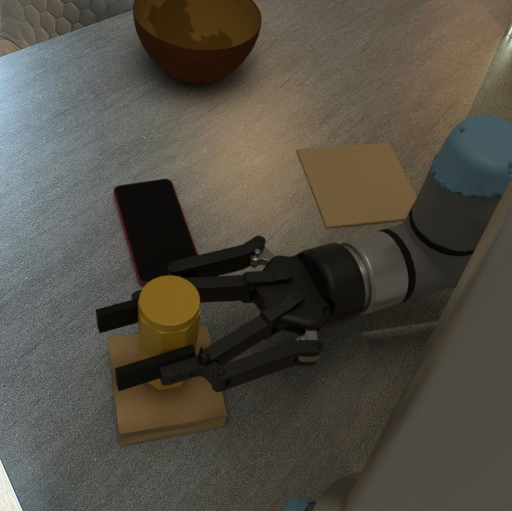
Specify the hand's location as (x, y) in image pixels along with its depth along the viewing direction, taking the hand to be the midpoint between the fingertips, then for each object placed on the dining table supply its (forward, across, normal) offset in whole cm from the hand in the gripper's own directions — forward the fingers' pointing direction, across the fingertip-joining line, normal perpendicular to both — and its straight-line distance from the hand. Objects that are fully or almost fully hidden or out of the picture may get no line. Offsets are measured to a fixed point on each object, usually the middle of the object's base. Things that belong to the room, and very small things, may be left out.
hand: (107, 349), depth 52 cm
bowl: (-26, +47, -11) cm, 55 cm away
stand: (-5, 0, -11) cm, 12 cm away
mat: (-39, +20, -11) cm, 45 cm away
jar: (-5, 0, -6) cm, 8 cm away
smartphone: (-11, +20, -11) cm, 25 cm away
